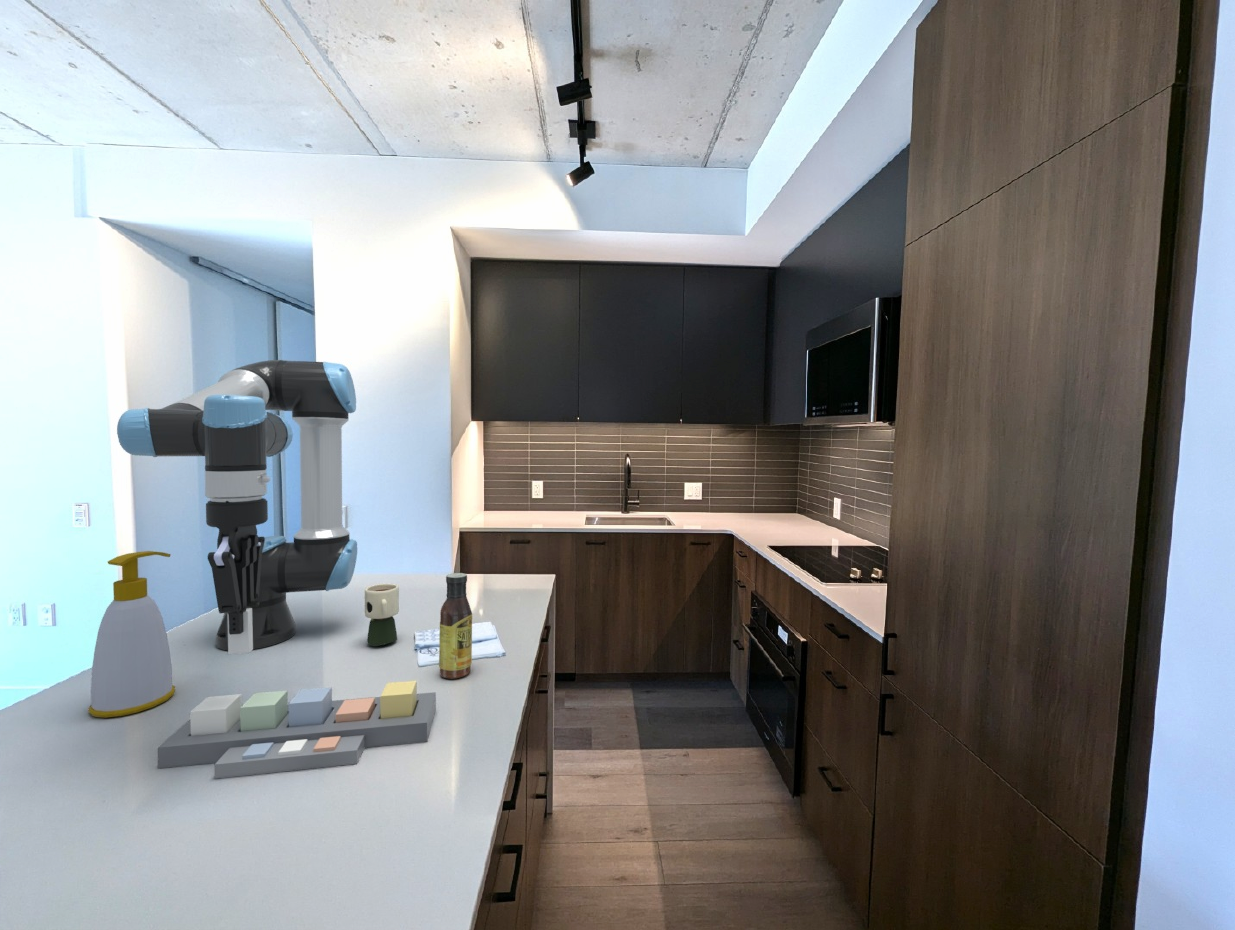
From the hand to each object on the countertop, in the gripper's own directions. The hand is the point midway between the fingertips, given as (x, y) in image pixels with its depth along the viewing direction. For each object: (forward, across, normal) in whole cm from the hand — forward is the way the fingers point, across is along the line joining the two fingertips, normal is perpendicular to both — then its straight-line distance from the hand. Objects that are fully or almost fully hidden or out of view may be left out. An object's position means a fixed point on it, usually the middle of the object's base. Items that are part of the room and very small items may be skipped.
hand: (240, 651), depth 80 cm
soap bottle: (+14, +17, +24) cm, 33 cm away
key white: (+12, 0, +3) cm, 12 cm away
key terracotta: (+14, -1, -16) cm, 21 cm away
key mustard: (+12, -1, -23) cm, 26 cm away
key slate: (+12, -1, -10) cm, 15 cm away
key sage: (+12, -1, -3) cm, 12 cm away
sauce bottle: (+14, +18, -30) cm, 38 cm away
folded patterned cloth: (+15, +33, -30) cm, 47 cm away
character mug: (+15, +37, -13) cm, 42 cm away
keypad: (+14, -3, -10) cm, 17 cm away
